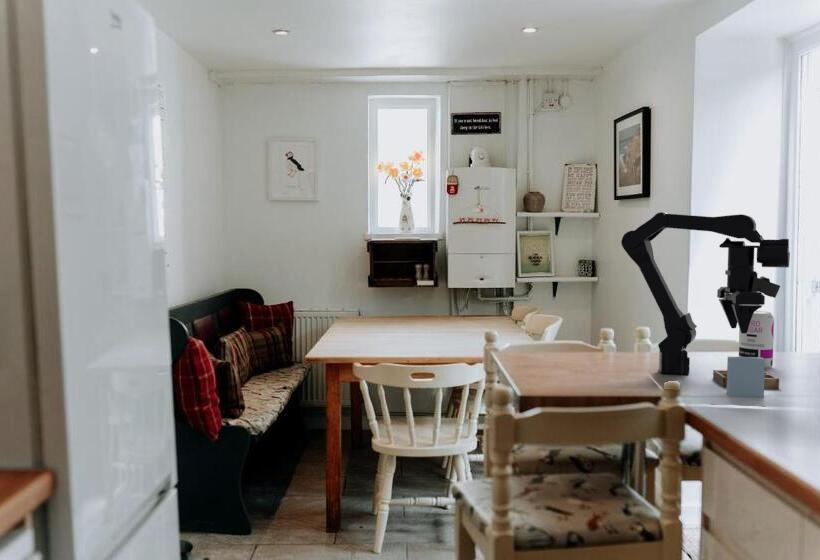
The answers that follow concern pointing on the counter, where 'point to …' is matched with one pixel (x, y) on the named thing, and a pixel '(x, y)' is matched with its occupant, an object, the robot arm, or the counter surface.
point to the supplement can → (758, 338)
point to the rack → (769, 380)
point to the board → (745, 376)
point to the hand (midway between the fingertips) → (738, 330)
